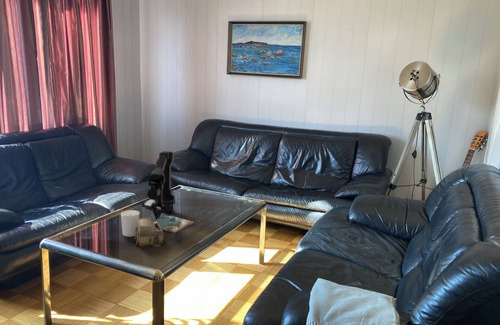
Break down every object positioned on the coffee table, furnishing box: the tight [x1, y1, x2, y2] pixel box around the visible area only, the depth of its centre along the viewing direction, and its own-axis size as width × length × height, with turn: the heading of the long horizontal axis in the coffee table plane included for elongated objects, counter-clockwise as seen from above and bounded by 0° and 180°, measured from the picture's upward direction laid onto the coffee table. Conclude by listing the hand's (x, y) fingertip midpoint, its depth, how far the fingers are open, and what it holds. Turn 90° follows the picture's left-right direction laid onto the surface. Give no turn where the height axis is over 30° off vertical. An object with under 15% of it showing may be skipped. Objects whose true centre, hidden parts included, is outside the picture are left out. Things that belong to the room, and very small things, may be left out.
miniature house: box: [133, 217, 166, 248], centre depth 208 cm, size 15×14×11 cm
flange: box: [156, 215, 181, 228], centre depth 232 cm, size 16×10×5 cm, turn 151°
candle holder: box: [120, 209, 141, 238], centre depth 218 cm, size 10×10×12 cm
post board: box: [152, 215, 195, 234], centre depth 235 cm, size 18×18×5 cm
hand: (157, 220), depth 232 cm, fingers closed
